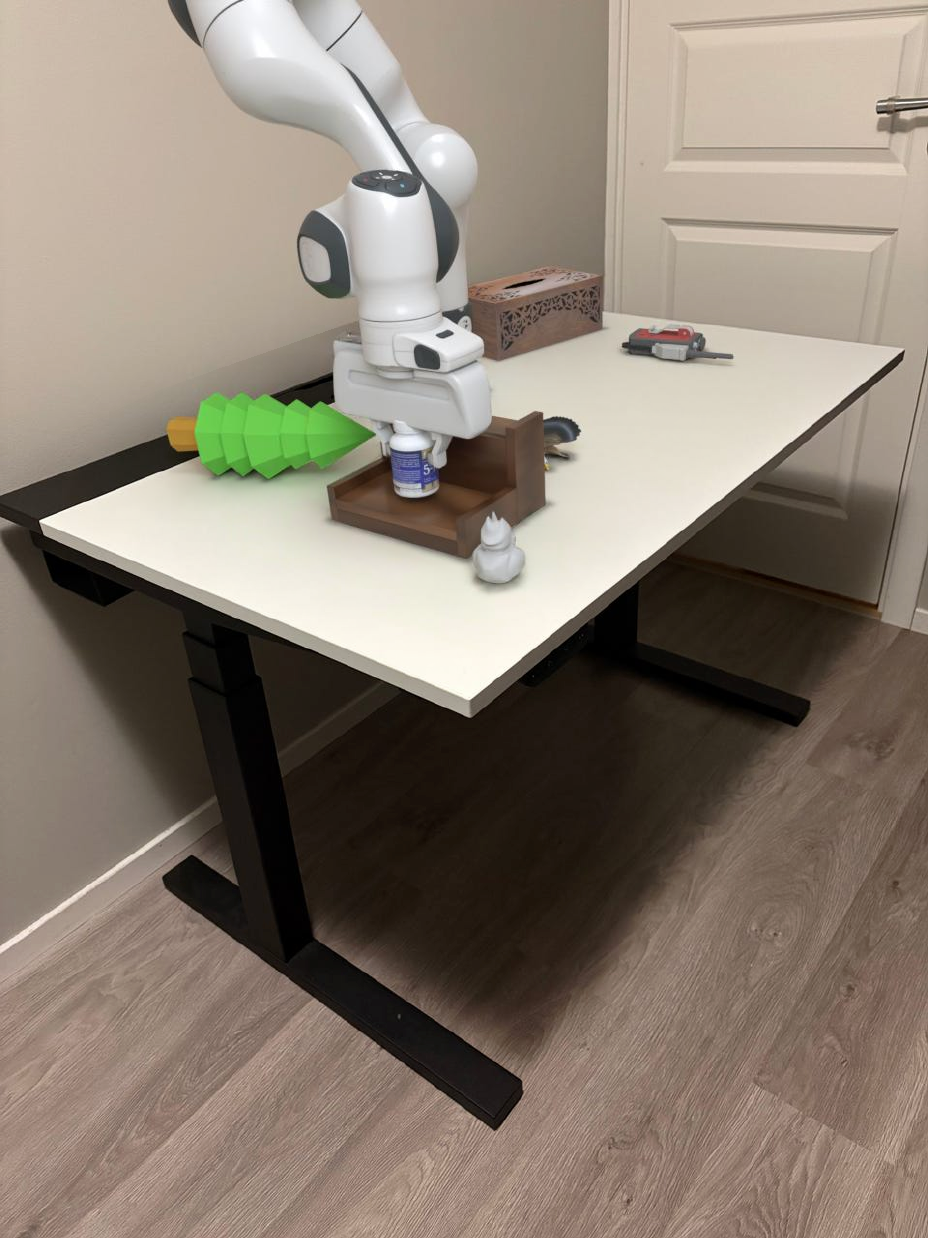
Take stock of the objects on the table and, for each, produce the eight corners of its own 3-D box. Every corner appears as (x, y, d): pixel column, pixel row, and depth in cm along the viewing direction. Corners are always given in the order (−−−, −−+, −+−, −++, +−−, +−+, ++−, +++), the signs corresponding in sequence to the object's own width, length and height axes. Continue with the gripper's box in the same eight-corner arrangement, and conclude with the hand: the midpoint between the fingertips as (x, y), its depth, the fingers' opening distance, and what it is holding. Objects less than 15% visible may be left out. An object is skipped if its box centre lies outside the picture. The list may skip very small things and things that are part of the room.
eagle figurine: (538, 476, 118) (592, 445, 121) (510, 425, 118) (565, 395, 121) (513, 489, 125) (565, 460, 129) (487, 441, 125) (539, 413, 128)
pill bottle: (433, 499, 107) (427, 424, 103) (389, 498, 108) (380, 424, 104) (444, 480, 112) (438, 408, 107) (401, 479, 113) (393, 407, 108)
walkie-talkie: (615, 356, 163) (730, 367, 154) (616, 330, 161) (732, 340, 152) (635, 343, 169) (746, 352, 160) (635, 317, 167) (749, 325, 158)
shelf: (467, 558, 103) (459, 459, 97) (331, 520, 114) (317, 429, 108) (545, 504, 114) (543, 411, 108) (415, 473, 125) (406, 388, 119)
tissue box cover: (498, 361, 166) (495, 303, 161) (448, 347, 176) (444, 292, 171) (602, 330, 179) (602, 275, 174) (550, 318, 189) (549, 266, 184)
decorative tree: (174, 374, 129) (377, 371, 120) (209, 437, 138) (401, 438, 128) (139, 432, 123) (349, 433, 113) (178, 494, 132) (377, 499, 122)
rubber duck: (464, 587, 98) (458, 517, 94) (488, 558, 103) (484, 491, 99) (513, 595, 96) (509, 523, 92) (535, 565, 101) (533, 496, 97)
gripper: (312, 336, 105) (330, 454, 112) (460, 358, 93) (468, 487, 101) (351, 322, 109) (365, 436, 116) (496, 341, 98) (502, 467, 105)
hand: (414, 460), depth 108 cm, fingers closed on pill bottle, 5 cm apart
